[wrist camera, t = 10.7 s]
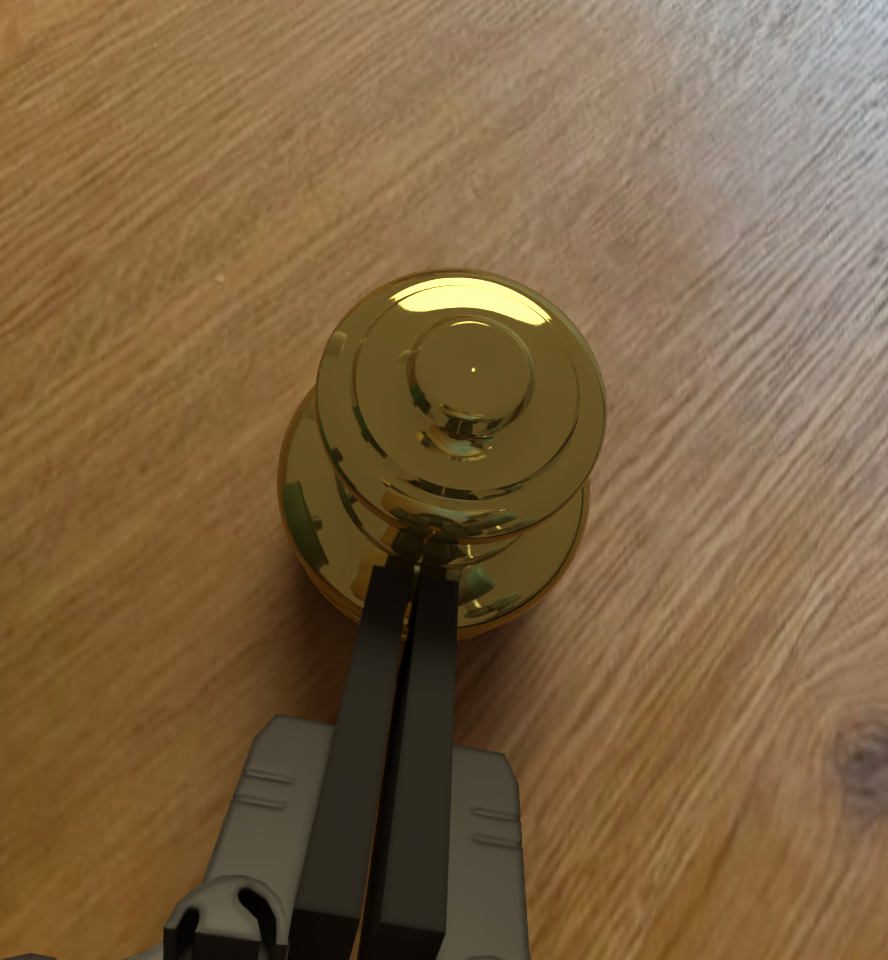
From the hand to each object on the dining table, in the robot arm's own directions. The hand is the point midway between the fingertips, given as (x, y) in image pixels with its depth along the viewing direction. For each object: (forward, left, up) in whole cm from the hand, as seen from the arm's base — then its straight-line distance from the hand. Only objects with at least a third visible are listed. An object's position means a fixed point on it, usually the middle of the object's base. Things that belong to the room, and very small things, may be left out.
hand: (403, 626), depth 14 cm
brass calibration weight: (+4, 0, -5) cm, 6 cm away
